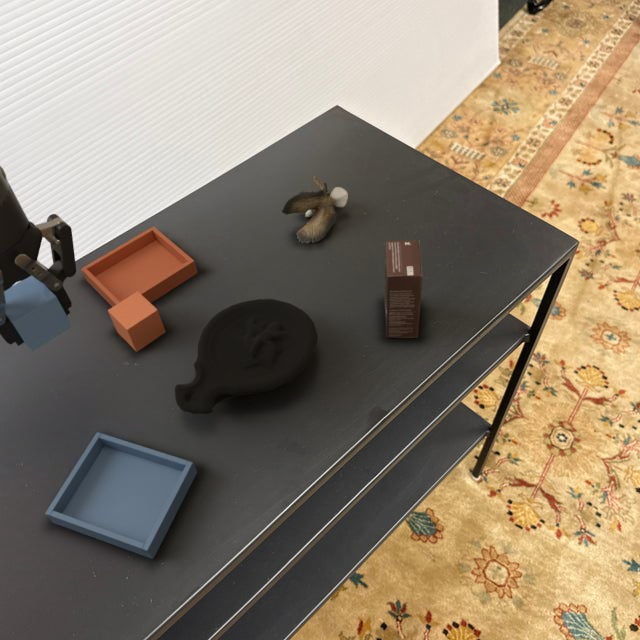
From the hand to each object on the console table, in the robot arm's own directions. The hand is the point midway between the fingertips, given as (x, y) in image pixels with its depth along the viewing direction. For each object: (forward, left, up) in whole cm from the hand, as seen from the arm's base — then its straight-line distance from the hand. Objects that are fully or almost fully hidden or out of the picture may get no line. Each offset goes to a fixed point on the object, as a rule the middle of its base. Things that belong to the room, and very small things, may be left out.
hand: (40, 324), depth 66 cm
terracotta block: (0, +12, -16) cm, 20 cm away
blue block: (0, 0, 0) cm, 0 cm away
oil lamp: (+16, +10, -16) cm, 25 cm away
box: (+32, +24, -16) cm, 44 cm away
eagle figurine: (+15, +39, -16) cm, 45 cm away
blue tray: (+10, -9, -16) cm, 21 cm away
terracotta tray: (-5, +21, -16) cm, 27 cm away
